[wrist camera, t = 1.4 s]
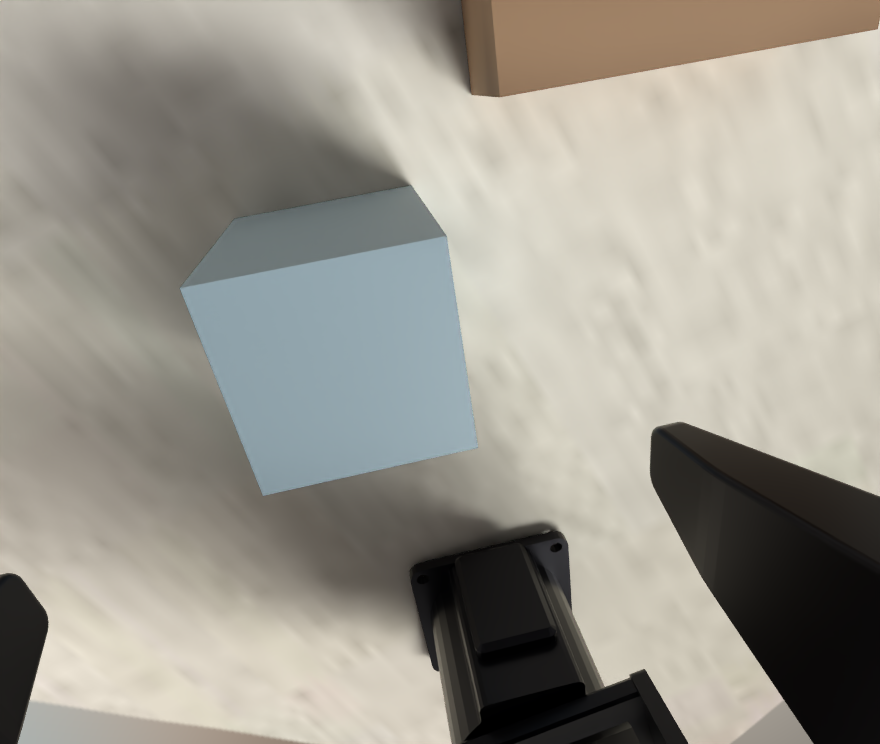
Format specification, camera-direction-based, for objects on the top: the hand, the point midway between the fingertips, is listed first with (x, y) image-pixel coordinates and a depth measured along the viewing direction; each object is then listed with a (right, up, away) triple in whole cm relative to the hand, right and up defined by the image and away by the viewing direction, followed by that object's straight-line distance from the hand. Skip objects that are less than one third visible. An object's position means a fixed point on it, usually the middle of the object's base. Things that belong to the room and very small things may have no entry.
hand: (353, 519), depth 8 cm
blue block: (-2, +5, +9) cm, 10 cm away
